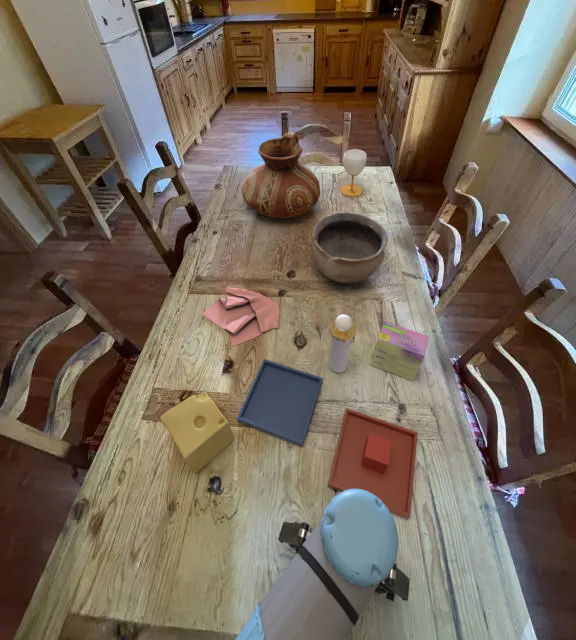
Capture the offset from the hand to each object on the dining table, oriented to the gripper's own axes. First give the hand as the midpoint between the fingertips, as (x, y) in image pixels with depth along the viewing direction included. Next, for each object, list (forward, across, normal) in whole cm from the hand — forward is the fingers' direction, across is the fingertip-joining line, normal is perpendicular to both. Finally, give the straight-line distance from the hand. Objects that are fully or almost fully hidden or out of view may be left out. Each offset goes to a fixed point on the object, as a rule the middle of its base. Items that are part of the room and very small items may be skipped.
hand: (338, 563), depth 59 cm
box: (+1, -4, -41) cm, 41 cm away
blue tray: (0, +19, -23) cm, 30 cm away
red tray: (0, -3, -18) cm, 18 cm away
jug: (+1, +47, -96) cm, 107 cm away
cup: (+1, +23, -114) cm, 116 cm away
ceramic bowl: (+1, +15, -69) cm, 70 cm away
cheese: (0, +32, -10) cm, 34 cm away
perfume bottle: (0, +9, -36) cm, 37 cm away
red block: (0, -3, -18) cm, 18 cm away
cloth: (0, +39, -43) cm, 58 cm away
